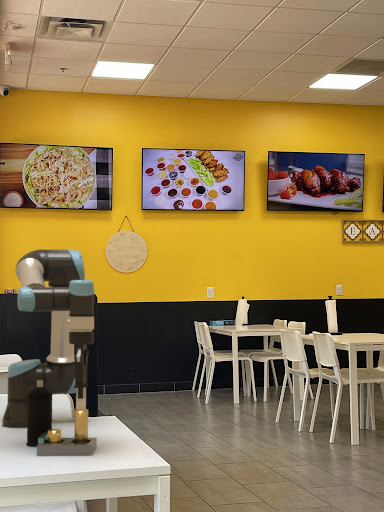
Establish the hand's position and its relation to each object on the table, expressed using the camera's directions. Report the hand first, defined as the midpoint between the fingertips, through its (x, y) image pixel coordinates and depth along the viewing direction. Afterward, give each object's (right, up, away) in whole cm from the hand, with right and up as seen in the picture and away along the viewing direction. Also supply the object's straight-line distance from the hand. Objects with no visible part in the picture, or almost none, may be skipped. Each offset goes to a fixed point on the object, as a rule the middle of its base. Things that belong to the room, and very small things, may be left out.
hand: (80, 409), depth 222 cm
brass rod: (0, -12, -1) cm, 12 cm away
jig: (-4, -13, -1) cm, 13 cm away
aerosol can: (-15, -14, +10) cm, 22 cm away
